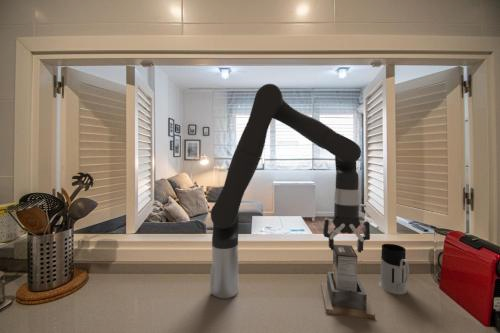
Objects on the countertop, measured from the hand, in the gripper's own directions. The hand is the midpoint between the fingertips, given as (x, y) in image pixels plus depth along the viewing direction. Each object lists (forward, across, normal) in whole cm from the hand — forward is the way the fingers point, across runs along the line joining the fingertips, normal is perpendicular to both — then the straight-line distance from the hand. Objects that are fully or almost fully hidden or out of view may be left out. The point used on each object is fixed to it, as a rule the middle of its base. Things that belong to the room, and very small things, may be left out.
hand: (345, 250), depth 79 cm
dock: (+17, 0, 0) cm, 17 cm away
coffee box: (+16, 0, 0) cm, 16 cm away
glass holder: (+17, +19, +9) cm, 27 cm away
